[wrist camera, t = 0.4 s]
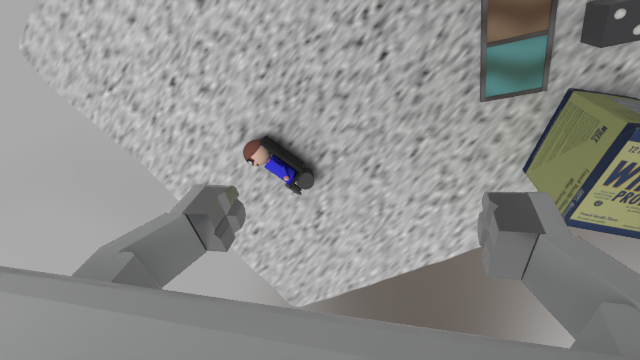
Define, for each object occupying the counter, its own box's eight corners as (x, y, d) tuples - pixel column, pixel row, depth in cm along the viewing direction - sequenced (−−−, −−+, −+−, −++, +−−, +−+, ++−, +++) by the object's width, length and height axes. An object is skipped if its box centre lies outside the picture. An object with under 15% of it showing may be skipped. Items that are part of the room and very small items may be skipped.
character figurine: (306, 185, 66) (248, 143, 62) (325, 165, 61) (265, 119, 58) (295, 208, 59) (231, 163, 56) (317, 188, 55) (248, 138, 52)
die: (587, -1, 41) (612, 1, 36) (636, -13, 39) (670, -13, 35) (579, 41, 44) (603, 48, 39) (626, 32, 42) (656, 37, 38)
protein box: (520, 171, 55) (563, 227, 43) (567, 86, 47) (638, 125, 34) (580, 181, 55) (642, 241, 42) (639, 96, 46) (740, 140, 33)
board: (482, -95, 38) (484, -96, 37) (569, -124, 35) (573, -126, 35) (480, 100, 50) (481, 102, 49) (544, 89, 48) (546, 90, 47)
